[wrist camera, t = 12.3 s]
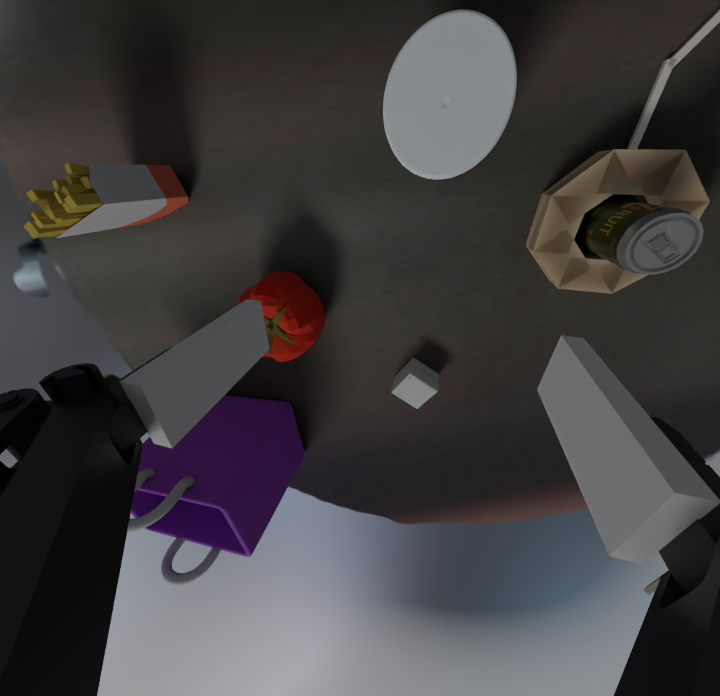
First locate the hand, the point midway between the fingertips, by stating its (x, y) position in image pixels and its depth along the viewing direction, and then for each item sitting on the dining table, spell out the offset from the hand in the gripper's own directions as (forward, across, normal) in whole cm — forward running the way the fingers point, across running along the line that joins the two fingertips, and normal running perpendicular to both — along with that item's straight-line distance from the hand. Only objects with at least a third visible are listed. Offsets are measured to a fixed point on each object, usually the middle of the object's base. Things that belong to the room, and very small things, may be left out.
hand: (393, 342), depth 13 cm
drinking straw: (+31, +21, +14) cm, 40 cm away
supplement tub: (+31, +1, +11) cm, 33 cm away
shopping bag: (+31, -36, -46) cm, 66 cm away
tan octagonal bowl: (+31, +20, +2) cm, 36 cm away
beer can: (+31, +20, +2) cm, 37 cm away
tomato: (+31, -20, -13) cm, 39 cm away
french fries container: (+31, -40, +3) cm, 51 cm away
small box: (+31, +2, -24) cm, 39 cm away
